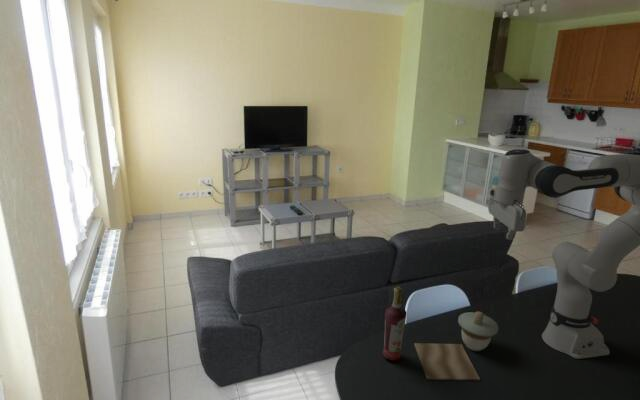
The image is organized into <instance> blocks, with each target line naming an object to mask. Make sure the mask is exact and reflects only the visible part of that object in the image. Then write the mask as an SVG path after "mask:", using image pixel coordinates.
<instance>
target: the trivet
mask: <svg viewBox="0 0 640 400" xmlns="http://www.w3.org/2000/svg"><path fill="white" fill-rule="evenodd" d="M414 347H415V348H414V349H415V350H416V354H417V356H418V358H419V361H420V363H421V366H422V370H423V372H424V376H425V378H426V380H433V381H434V380H435V381H437V380H438V381H481V378H480V376H479V374H478V372H477V370H476V369H475V367H474V365H473V363H472V361H471V360H470V357H469V355H468V354H467V352H466V350H465V348H464V346H463V344H462V343H432V342H431V343H430V342H429V343H427V342H426V343H425V342H424V343H421V342H418V343H417V342H414Z"/></svg>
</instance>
